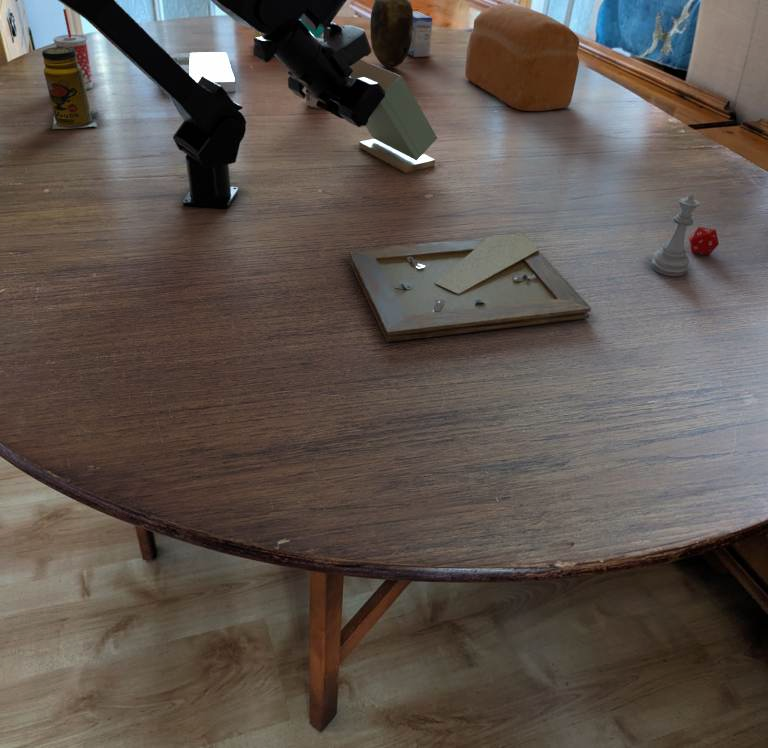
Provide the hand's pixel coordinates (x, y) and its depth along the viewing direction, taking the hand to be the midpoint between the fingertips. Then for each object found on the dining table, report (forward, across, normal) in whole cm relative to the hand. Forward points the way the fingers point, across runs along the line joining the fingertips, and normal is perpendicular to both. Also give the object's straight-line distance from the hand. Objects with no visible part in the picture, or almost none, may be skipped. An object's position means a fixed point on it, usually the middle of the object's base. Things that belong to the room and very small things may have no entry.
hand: (365, 123), depth 113 cm
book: (+3, +58, +6) cm, 59 cm away
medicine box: (+41, +53, -32) cm, 75 cm away
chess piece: (+14, -49, -5) cm, 51 cm away
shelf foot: (+9, 0, 0) cm, 9 cm away
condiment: (-18, +42, +28) cm, 54 cm away
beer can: (+11, +29, -2) cm, 31 cm away
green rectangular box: (+8, 0, -3) cm, 9 cm away
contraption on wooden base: (+24, +70, -15) cm, 76 cm away
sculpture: (+32, +46, -23) cm, 60 cm away
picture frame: (-4, -39, +14) cm, 42 cm away
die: (+19, -49, -10) cm, 53 cm away
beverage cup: (-13, +62, +23) cm, 67 cm away
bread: (+40, +17, -31) cm, 54 cm away
